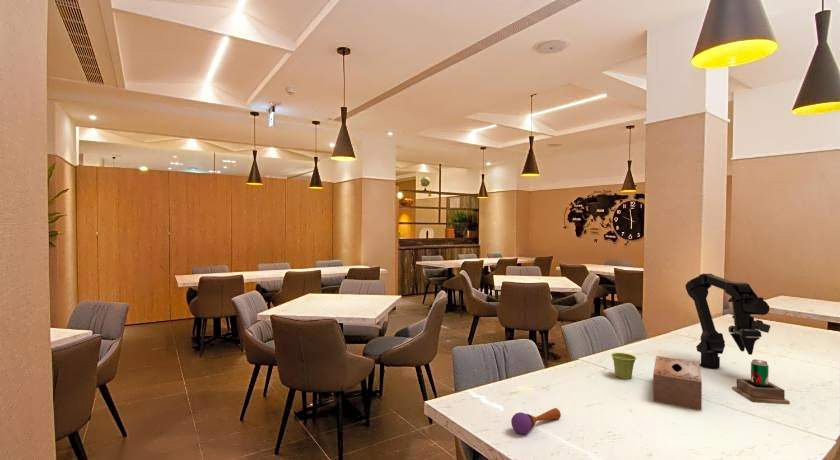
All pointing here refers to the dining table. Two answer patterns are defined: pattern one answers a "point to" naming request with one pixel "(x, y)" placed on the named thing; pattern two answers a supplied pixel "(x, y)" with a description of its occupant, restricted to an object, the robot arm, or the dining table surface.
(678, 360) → the tissue box cover
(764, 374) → the soda can
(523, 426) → the kendama
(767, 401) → the socket block
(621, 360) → the plant pot
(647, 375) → the dining table surface
